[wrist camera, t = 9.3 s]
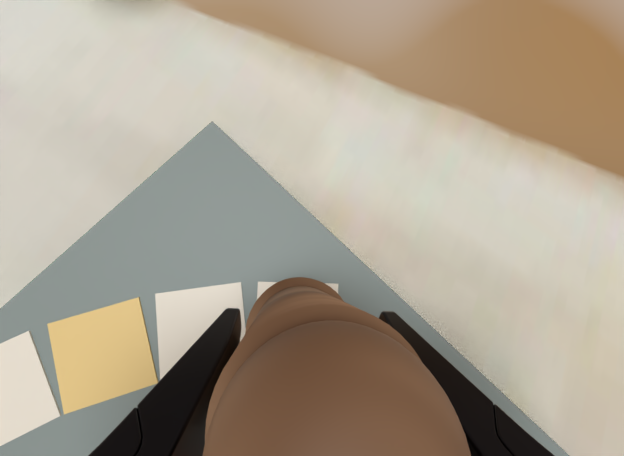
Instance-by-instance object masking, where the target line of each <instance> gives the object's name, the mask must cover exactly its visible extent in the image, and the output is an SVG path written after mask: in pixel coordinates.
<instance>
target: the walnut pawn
mask: <svg viewBox="0 0 624 456" xmlns="http://www.w3.org/2000/svg"><path fill="white" fill-rule="evenodd" d="M202 456H471V453H470V450H469V446H468V442H467V439H466V435H465V433H464V430H463V428H462V425H461V423H460V421H459V418H458V416H457V414H456V412H455V409H454V407H453V406H452V404H451V402H450V400H449V398H448V396H447V395H446V393H445V391H444V390H443V388H442V387H441V386H440V384H439V383H438V382H437V380H436V379H435V377H434V376H433V375H432V373H431V372H430V371H429V370H428V369H427V367H426V366H425V365H424V364H423V363H422V361H421V359H420V358H419V356H418V355H417V353H416V352H415V351H414V349H413V348H412V346H411V345H410V344H409V343H408V342H407V341H406V340H405V339H404V338H403V336H402V335H401V334H400V333H398V332H397V331H396V330H395V329H394V328H392V327H391V326H390V325H389V324H387V323H385V322H384V321H382V320H381V319H379V318H377V317H375V316H373V315H371V314H369V313H367V312H365V311H363V310H361V309H358V308H356V307H354V306H352V305H350V304H348V303H346V302H344V301H343V299H342V298H341V296H340V295H339V294H338V293H337V292H336V291H335V290H333V289H332V288H331V287H330V286H328V285H326V284H325V283H323V282H320V281H318V280H315V279H311V278H305V277H294V278H288V279H284V280H282V281H279V282H277V283H275V284H274V285H272V286H271V287H269V288H268V289H267V290H266V291H265V292H264V293H263V294H262V295H261V296H260V297H259V298H258V299H257V301H256V302H255V304H254V305H253V307H252V309H251V311H250V313H249V316H248V319H247V324H246V332H245V335H244V337H243V338H242V340H241V342H240V343H239V345H238V346H237V348H236V349H235V351H234V353H233V354H232V356H231V357H230V359H229V361H228V362H227V364H226V365H225V367H224V369H223V370H222V372H221V374H220V376H219V379H218V381H217V383H216V385H215V387H214V391H213V394H212V397H211V400H210V403H209V408H208V413H207V418H206V427H205V445H204V450H203V455H202Z"/></svg>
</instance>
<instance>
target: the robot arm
mask: <svg viewBox="0 0 624 456" xmlns="http://www.w3.org/2000/svg"><path fill="white" fill-rule="evenodd" d="M379 319H381V320H382V321H384V322H385V323H387V324H389V325H390V326H391V327H392V328H394V329H395V330H396V331H397V332H398V333H400V334H401V335H402V336H403V338H404V339H405V340H406V341H407V342H408V343H409V344H410V345H411V346H412V348H413V349H414V351H415V352H416V353H417V355H418V356H419V358H420V359H421V361H422V363H423V364H424V365H425V366H426V367H427V369H428V370H429V371H430V372H431V373H432V375H433V376H434V377H435V379H436V380H437V382H438V383H439V384H440V386H441V387H442V388H443V390H444V391H445V393H446V395H447V396H448V398H449V400H450V402H451V404H452V406H453V407H454V409H455V412H456V414H457V416H458V418H459V421H460V423H461V425H462V428H463V430H464V433H465V435H466V439H467V442H468V446H469V450H470V453H471V456H555V455H553V454H552V453H551V452H550V451H549V450H547V449H546V448H545V447H544V446H543V445H541V444H540V443H539V442H538V441H537V440H535V439H534V438H533V437H532V436H531V435H530V434H529V433H527V432H526V431H525V430H524V429H523V428H522V427H521V426H519V425H518V424H517V423H516V422H515V421H514V420H513V419H512V418H510V417H509V416H508V415H507V414H506V413H505V412H504V411H503V410H502V409H501V408H500V407H498V406H497V405H496V404H493V402H492V401H491V400H490V399H489V398H488V397H487V396H486V395H485V394H484V393H483V392H482V391H480V390H479V389H478V388H477V387H476V386H475V385H474V384H473V383H472V382H471V381H470V380H468V379H467V378H466V377H465V376H464V375H463V374H462V373H461V372H460V371H459V370H458V369H456V368H455V367H454V366H453V365H452V364H451V363H450V362H449V361H448V360H447V359H446V358H445V357H443V356H442V355H441V354H440V353H439V352H438V351H437V350H436V349H435V348H434V347H433V346H431V345H430V344H429V343H428V342H427V341H426V340H425V339H424V338H423V337H422V336H421V335H419V334H418V333H417V332H416V331H415V330H414V329H413V328H412V327H411V326H410V325H409V324H407V323H406V322H405V321H404V320H403V319H402V318H401V317H400V316H399V315H398V314H397V313H395V312H394V311H382V312H381V314H380V317H379ZM240 337H241V314H240V309H238V308H227V309H225V310H224V311H223V312H222V314H221V315H220V316H219V317H218V318H217V319H216V320H215V321H214V322H213V323H212V324H211V325H210V327H209V328H208V329H207V330H206V331H205V332H204V333H203V334H202V335H201V336H200V337H199V339H198V340H197V341H196V342H195V343H194V344H193V345H192V346H191V347H190V348H189V349H188V350H187V352H186V353H185V354H184V355H183V356H182V357H181V358H180V359H179V360H178V361H177V362H176V364H175V365H174V366H173V367H172V368H171V369H170V370H169V371H168V372H167V373H166V374H165V375H164V377H163V378H162V379H161V380H160V381H159V382H158V383H157V384H156V385H155V386H154V387H153V389H152V390H151V391H150V392H149V393H148V394H147V395H146V396H145V397H144V398H143V399H142V400H141V402H140V403H139V404H138V405H137V408H136V407H135V408H134V409H133V410H132V411H131V412H130V413H129V414H128V415H127V416H126V417H125V418H124V419H123V420H122V422H121V423H120V424H119V425H118V426H117V427H116V428H115V429H114V430H113V431H112V432H111V433H110V434H109V435H108V436H107V437H106V438H105V439H104V440H103V441H102V442H101V443H100V444H99V445H98V446H97V447H96V448H95V449H94V450H93V451H92V452H91V453H90V454H89V455H88V456H202V455H203V450H204V445H205V427H206V418H207V413H208V408H209V403H210V400H211V397H212V394H213V391H214V387H215V385H216V383H217V381H218V379H219V376H220V374H221V372H222V370H223V369H224V367H225V365H226V364H227V362H228V361H229V359H230V357H231V356H232V354H233V353H234V351H235V349H236V348H237V346H238V345H239V343H240Z"/></svg>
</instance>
